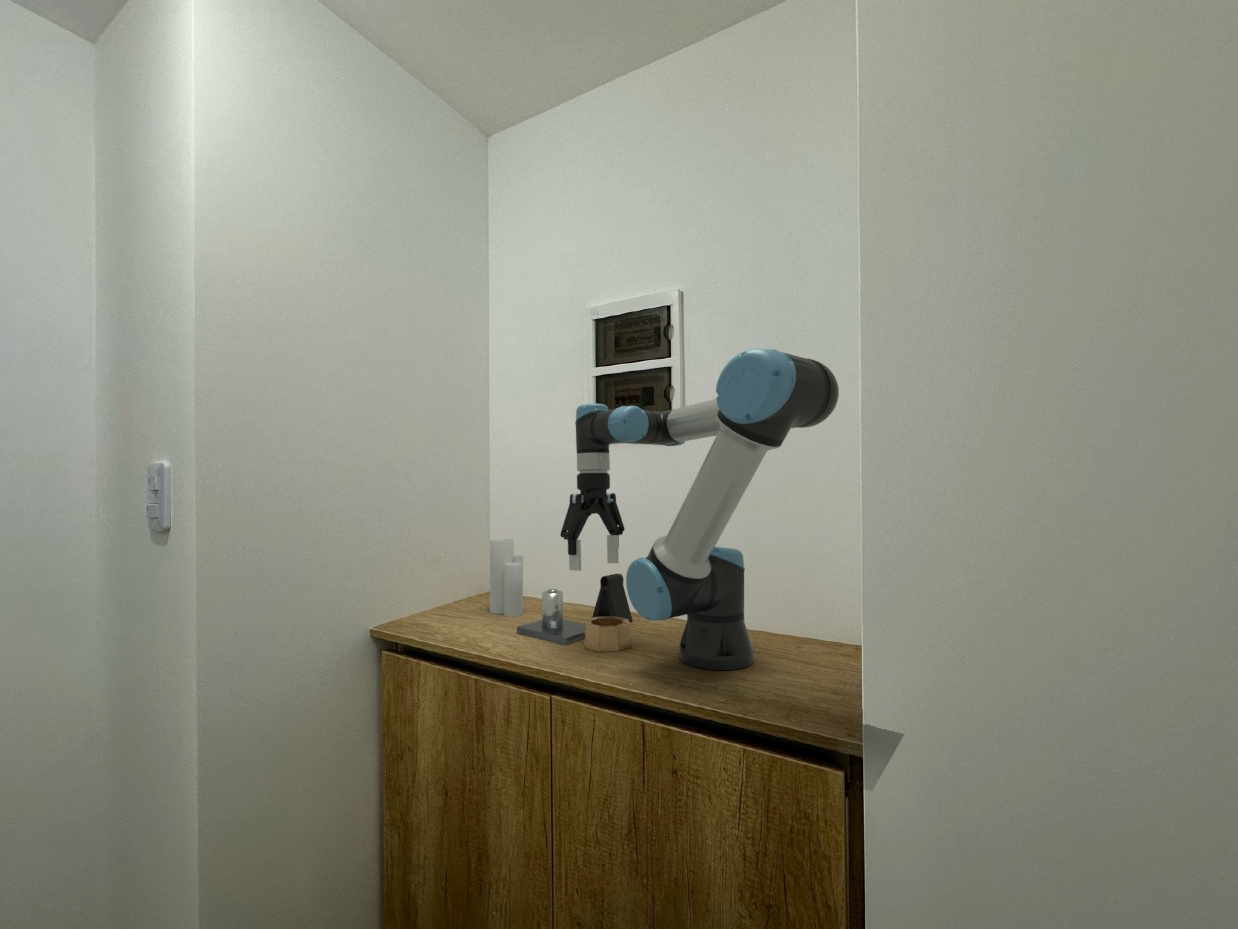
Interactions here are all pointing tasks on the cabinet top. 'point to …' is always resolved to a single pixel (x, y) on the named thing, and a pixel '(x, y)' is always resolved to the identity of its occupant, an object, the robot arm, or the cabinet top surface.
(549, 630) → the peg on base plate
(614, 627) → the ring
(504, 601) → the candle
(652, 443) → the robot arm
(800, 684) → the cabinet top surface
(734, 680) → the cabinet top surface
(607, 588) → the black triangular stand
